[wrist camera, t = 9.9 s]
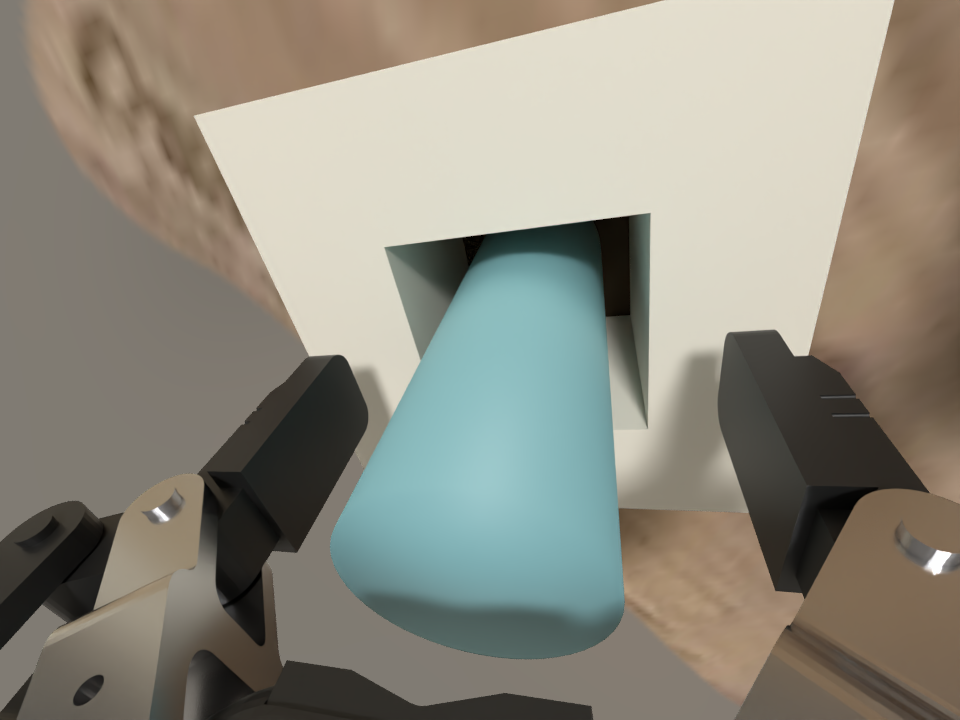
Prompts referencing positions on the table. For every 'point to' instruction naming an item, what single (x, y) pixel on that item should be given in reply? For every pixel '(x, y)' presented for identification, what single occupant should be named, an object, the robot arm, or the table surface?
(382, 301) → the socket block
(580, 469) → the peg
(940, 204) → the table surface
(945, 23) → the table surface
